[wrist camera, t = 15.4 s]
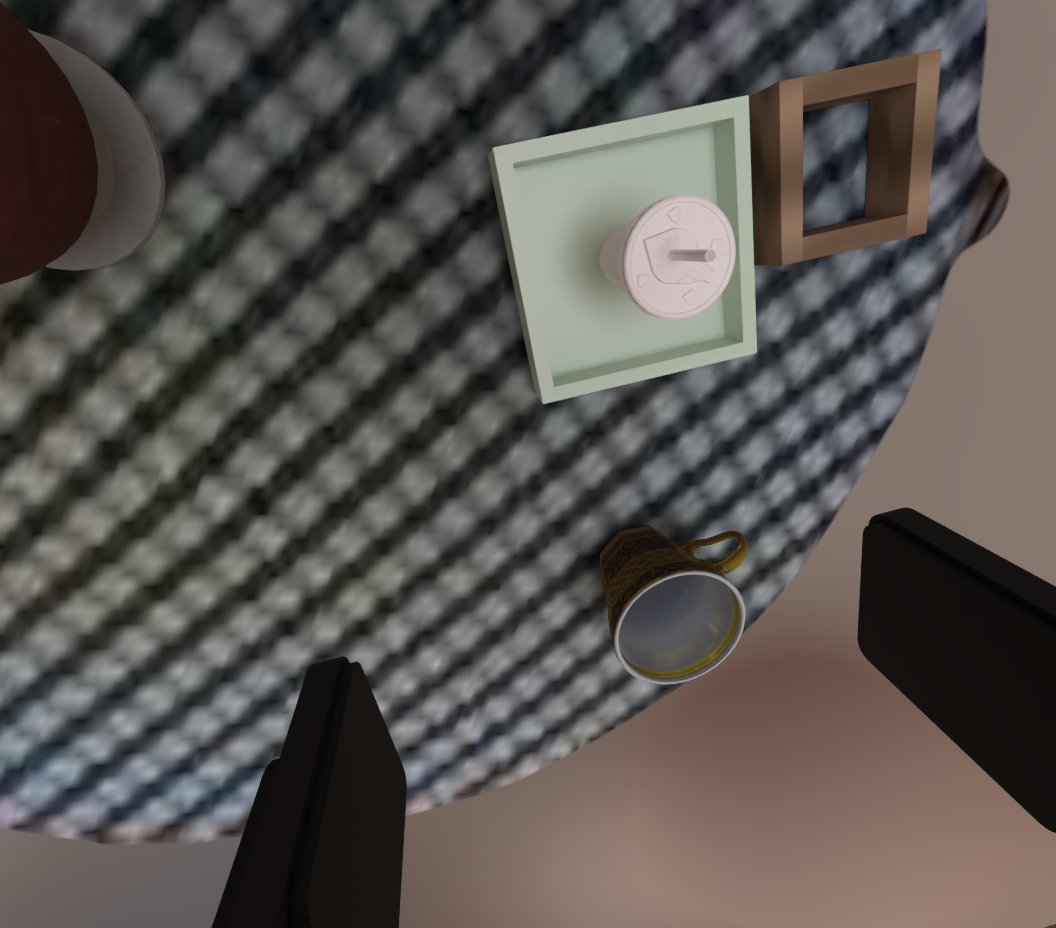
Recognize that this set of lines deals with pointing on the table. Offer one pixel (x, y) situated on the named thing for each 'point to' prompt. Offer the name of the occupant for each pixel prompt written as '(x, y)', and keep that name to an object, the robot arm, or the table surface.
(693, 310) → the smoothie
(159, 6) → the table surface
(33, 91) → the mate gourd
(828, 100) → the socket block
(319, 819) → the robot arm
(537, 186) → the tray
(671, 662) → the ceramic cup
